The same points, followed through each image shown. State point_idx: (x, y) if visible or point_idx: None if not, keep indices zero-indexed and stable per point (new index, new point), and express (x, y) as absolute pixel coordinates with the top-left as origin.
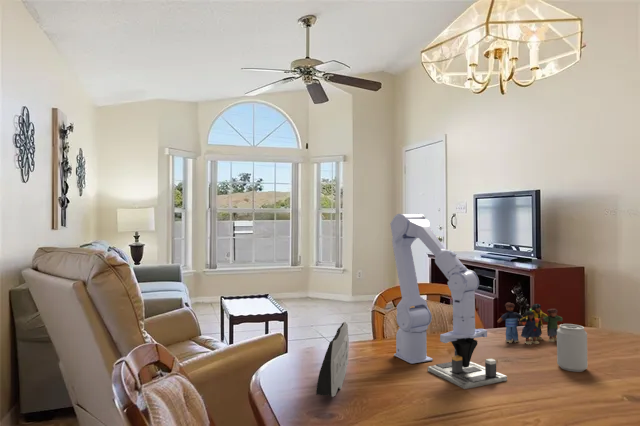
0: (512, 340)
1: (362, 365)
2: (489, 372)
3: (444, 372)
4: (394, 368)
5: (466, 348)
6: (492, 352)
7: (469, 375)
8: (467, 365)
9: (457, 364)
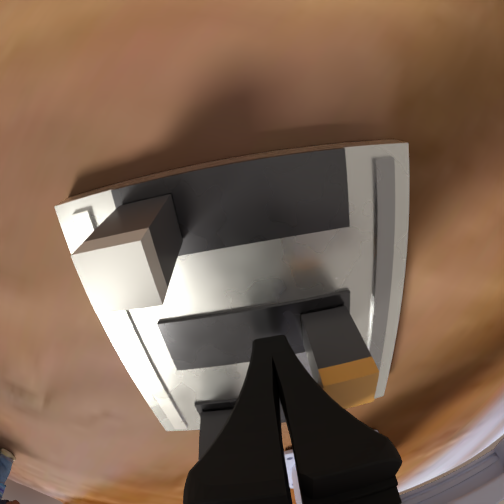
0: (1, 453)
1: (476, 408)
2: (167, 212)
3: (386, 328)
4: (442, 398)
5: (333, 433)
6: (50, 441)
7: (283, 269)
8: (268, 342)
9: (355, 340)
